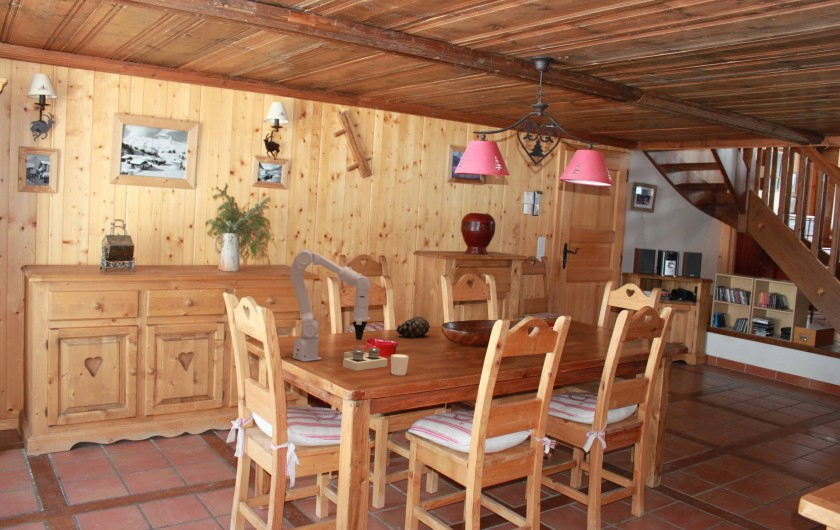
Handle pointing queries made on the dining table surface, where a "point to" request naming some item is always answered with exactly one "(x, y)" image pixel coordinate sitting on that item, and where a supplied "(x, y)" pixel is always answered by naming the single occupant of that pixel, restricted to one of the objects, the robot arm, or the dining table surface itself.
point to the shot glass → (399, 364)
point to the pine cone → (414, 328)
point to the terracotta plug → (358, 347)
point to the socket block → (363, 362)
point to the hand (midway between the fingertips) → (358, 339)
